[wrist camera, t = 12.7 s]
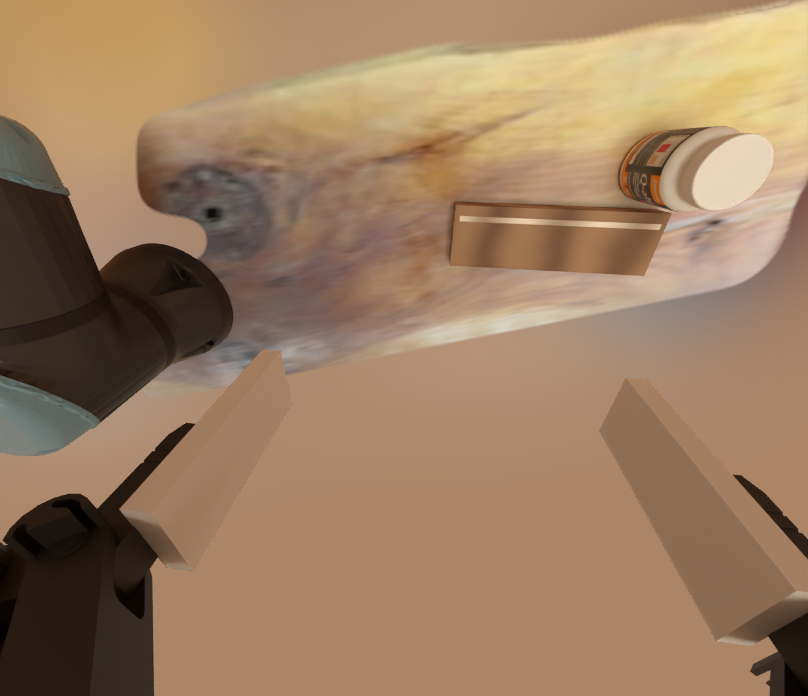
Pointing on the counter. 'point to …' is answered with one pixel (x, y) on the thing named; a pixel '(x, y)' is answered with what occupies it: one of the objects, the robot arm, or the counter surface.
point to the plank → (556, 237)
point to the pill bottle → (696, 168)
